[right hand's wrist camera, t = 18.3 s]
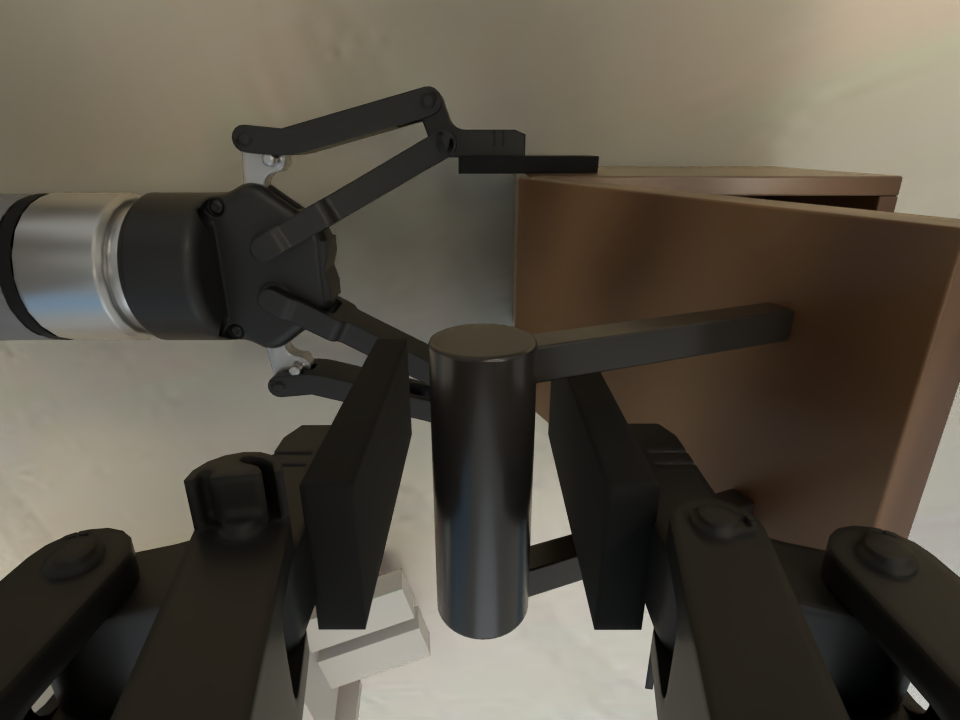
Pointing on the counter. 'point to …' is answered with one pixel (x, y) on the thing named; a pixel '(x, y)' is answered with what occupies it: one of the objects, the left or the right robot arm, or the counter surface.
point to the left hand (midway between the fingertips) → (585, 267)
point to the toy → (356, 651)
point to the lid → (697, 369)
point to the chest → (746, 186)
